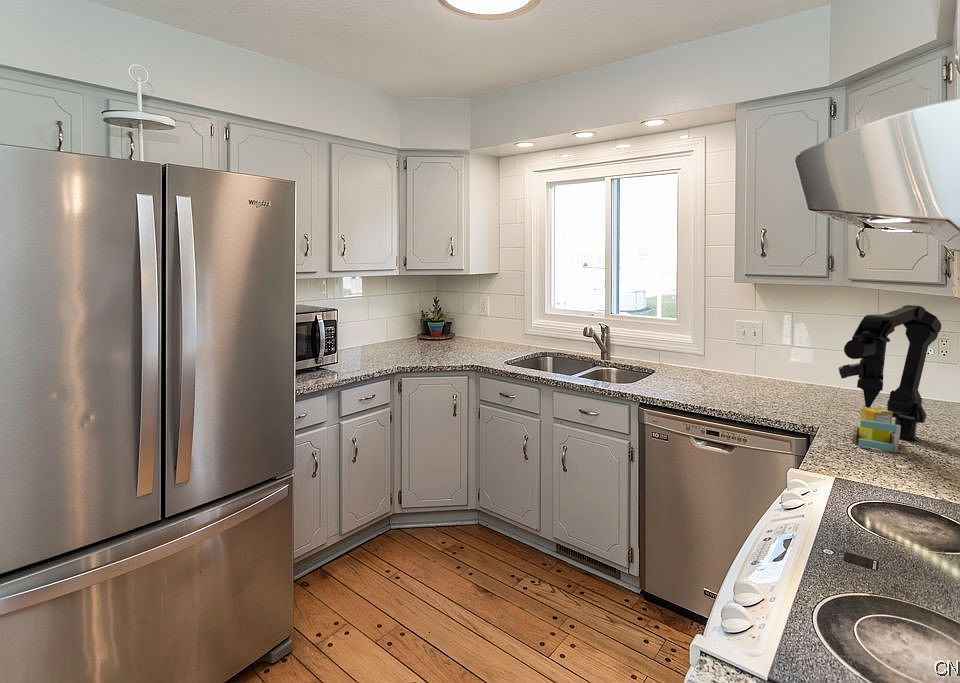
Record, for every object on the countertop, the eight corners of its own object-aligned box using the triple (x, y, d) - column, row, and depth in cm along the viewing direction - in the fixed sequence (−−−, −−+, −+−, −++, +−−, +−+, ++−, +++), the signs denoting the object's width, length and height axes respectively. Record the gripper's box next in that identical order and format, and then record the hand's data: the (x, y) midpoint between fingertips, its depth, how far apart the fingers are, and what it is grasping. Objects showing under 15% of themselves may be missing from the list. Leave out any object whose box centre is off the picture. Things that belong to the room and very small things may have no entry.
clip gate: (858, 444, 175) (861, 419, 174) (897, 451, 169) (900, 425, 168) (858, 445, 174) (861, 420, 173) (897, 452, 168) (900, 426, 167)
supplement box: (875, 440, 181) (879, 407, 179) (889, 446, 175) (893, 412, 173) (857, 440, 181) (861, 407, 179) (870, 446, 175) (874, 412, 173)
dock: (853, 435, 186) (854, 426, 185) (894, 442, 179) (895, 433, 179) (851, 443, 178) (852, 433, 177) (894, 450, 172) (896, 440, 171)
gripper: (843, 350, 183) (838, 397, 185) (839, 358, 168) (834, 409, 170) (885, 354, 177) (880, 402, 179) (885, 362, 162) (879, 415, 164)
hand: (867, 407), depth 173 cm, fingers closed
